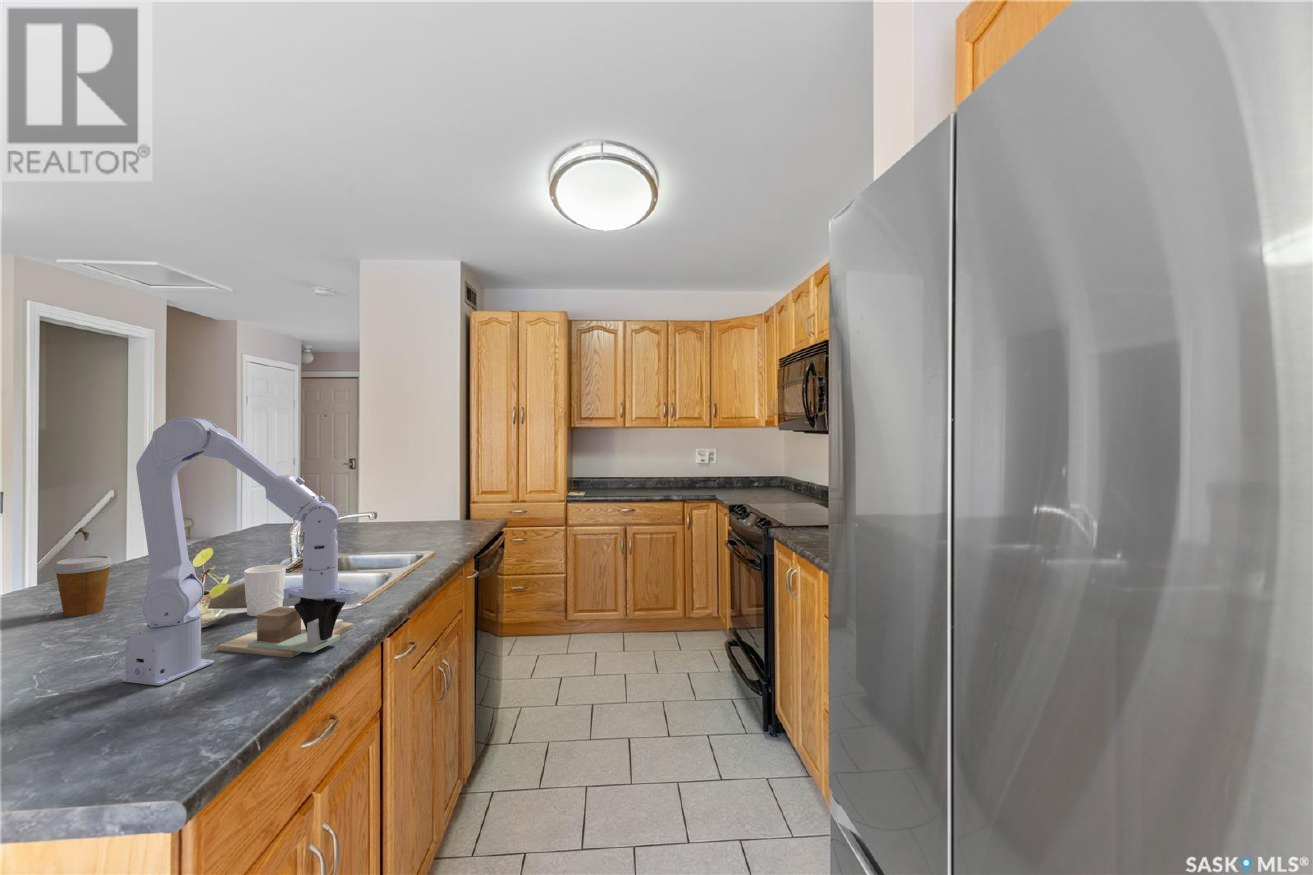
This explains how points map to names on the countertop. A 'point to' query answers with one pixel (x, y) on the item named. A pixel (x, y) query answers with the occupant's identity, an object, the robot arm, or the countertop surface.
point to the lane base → (242, 647)
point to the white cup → (264, 588)
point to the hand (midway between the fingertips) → (320, 638)
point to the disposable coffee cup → (82, 584)
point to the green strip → (300, 640)
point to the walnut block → (278, 625)
